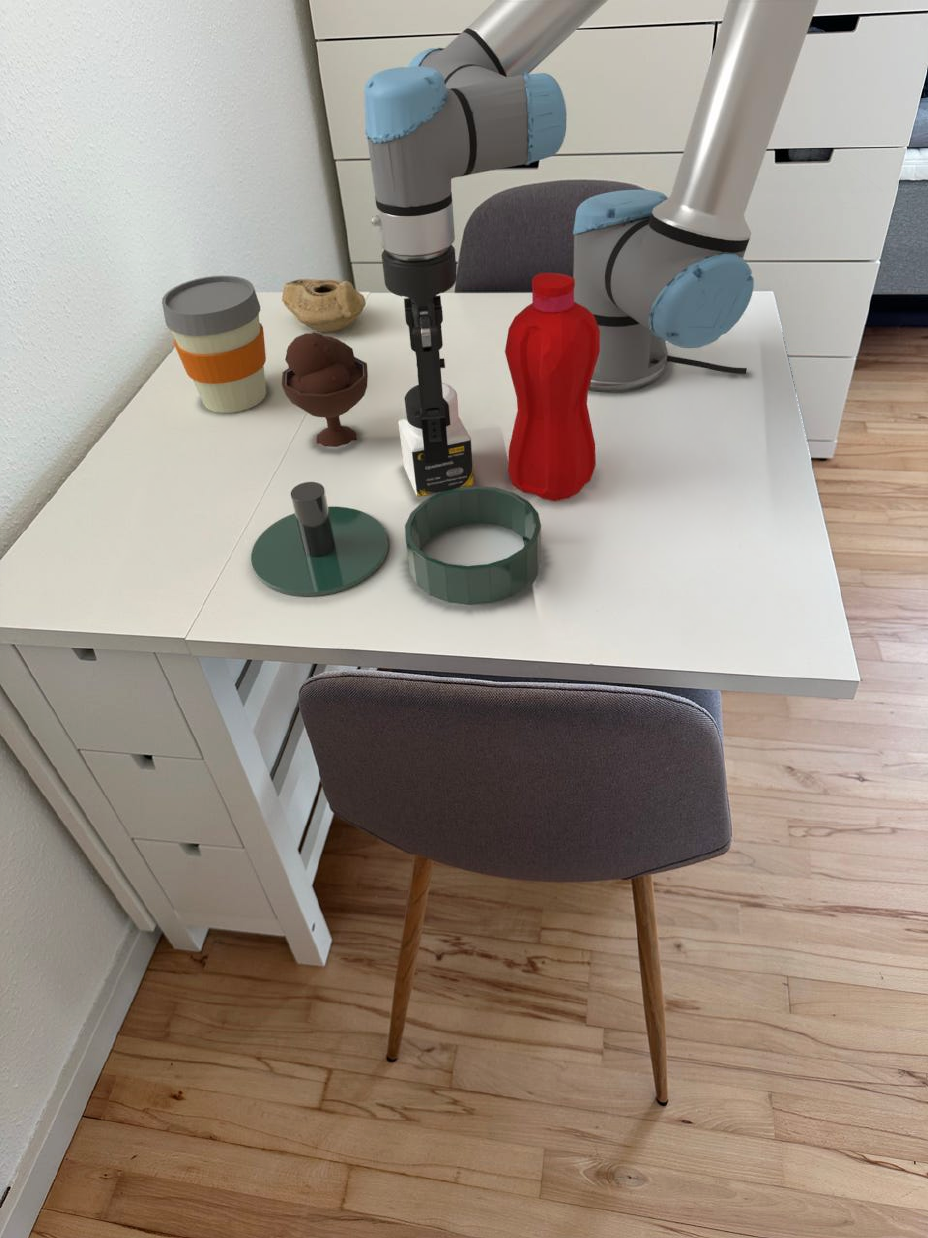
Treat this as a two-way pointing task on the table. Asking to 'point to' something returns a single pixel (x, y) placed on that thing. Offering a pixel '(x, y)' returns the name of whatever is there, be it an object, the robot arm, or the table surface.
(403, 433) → the medicine bottle
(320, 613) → the table surface
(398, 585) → the table surface
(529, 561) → the pot
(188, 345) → the reusable coffee cup
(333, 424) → the ice cream bowl
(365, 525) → the pot lid
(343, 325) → the oil lamp
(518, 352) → the water bottle
